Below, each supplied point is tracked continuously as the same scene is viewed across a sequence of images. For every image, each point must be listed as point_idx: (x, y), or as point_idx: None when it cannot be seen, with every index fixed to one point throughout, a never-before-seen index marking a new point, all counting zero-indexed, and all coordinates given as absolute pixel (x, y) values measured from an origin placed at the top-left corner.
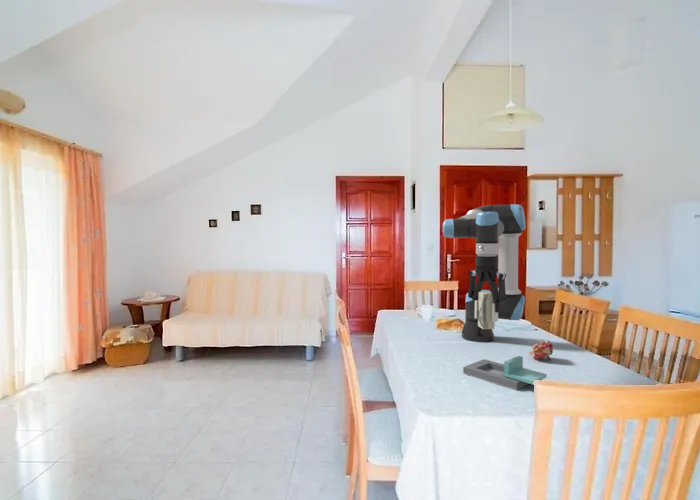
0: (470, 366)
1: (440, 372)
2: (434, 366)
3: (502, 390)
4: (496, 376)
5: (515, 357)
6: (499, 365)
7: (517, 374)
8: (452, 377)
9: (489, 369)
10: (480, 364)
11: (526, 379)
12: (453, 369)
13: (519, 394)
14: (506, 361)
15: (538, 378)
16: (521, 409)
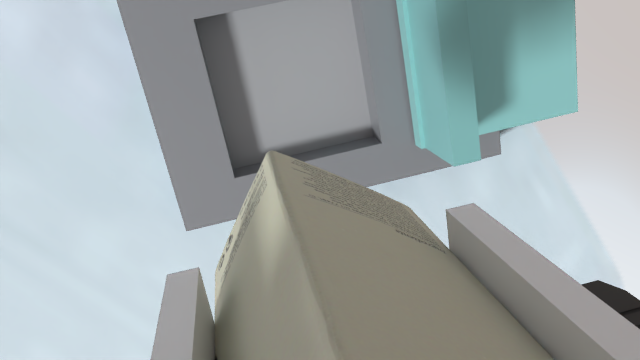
0: (197, 186)
1: (119, 313)
2: (11, 287)
3: (449, 203)
4: (391, 174)
5: (443, 23)
6: (270, 1)
7: (477, 97)
8: (210, 301)
9: (218, 39)
10: (195, 101)
11: (545, 118)
12: (106, 221)
13: (516, 170)
14: (460, 154)
15: (575, 45)
16: (591, 274)
